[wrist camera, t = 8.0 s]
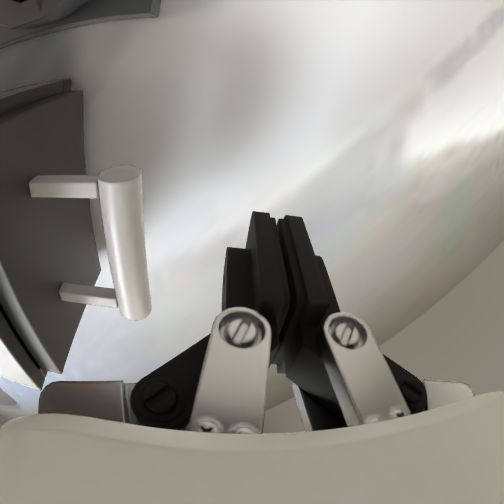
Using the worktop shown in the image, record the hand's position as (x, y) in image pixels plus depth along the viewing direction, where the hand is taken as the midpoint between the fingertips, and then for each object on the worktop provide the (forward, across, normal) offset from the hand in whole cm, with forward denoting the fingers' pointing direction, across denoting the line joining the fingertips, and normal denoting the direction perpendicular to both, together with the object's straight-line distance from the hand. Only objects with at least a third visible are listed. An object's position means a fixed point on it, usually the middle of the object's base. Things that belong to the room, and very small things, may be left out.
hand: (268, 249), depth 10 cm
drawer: (+4, +13, +1) cm, 13 cm away
